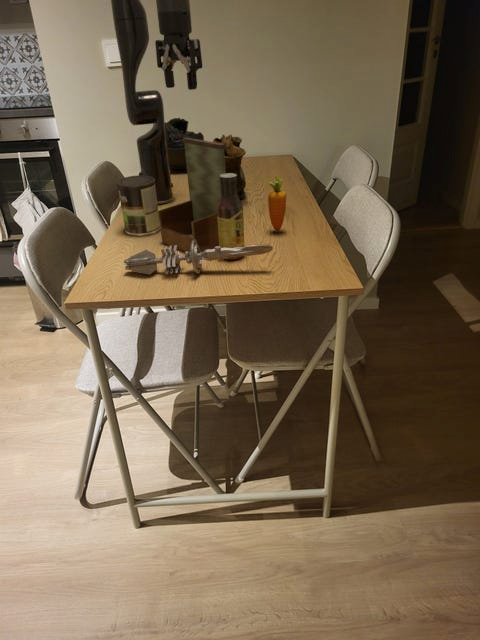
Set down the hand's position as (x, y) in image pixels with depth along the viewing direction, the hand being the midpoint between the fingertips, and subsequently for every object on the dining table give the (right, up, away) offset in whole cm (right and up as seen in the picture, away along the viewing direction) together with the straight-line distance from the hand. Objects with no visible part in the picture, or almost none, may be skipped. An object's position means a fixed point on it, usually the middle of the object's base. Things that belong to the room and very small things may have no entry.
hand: (181, 88), depth 117 cm
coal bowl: (-9, +4, +76) cm, 77 cm away
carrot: (+25, -33, +14) cm, 44 cm away
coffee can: (-13, -31, +20) cm, 39 cm away
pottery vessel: (+11, -16, +42) cm, 46 cm away
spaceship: (+5, -46, -5) cm, 47 cm away
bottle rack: (+3, -37, +9) cm, 38 cm away
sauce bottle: (+13, -41, +2) cm, 43 cm away
